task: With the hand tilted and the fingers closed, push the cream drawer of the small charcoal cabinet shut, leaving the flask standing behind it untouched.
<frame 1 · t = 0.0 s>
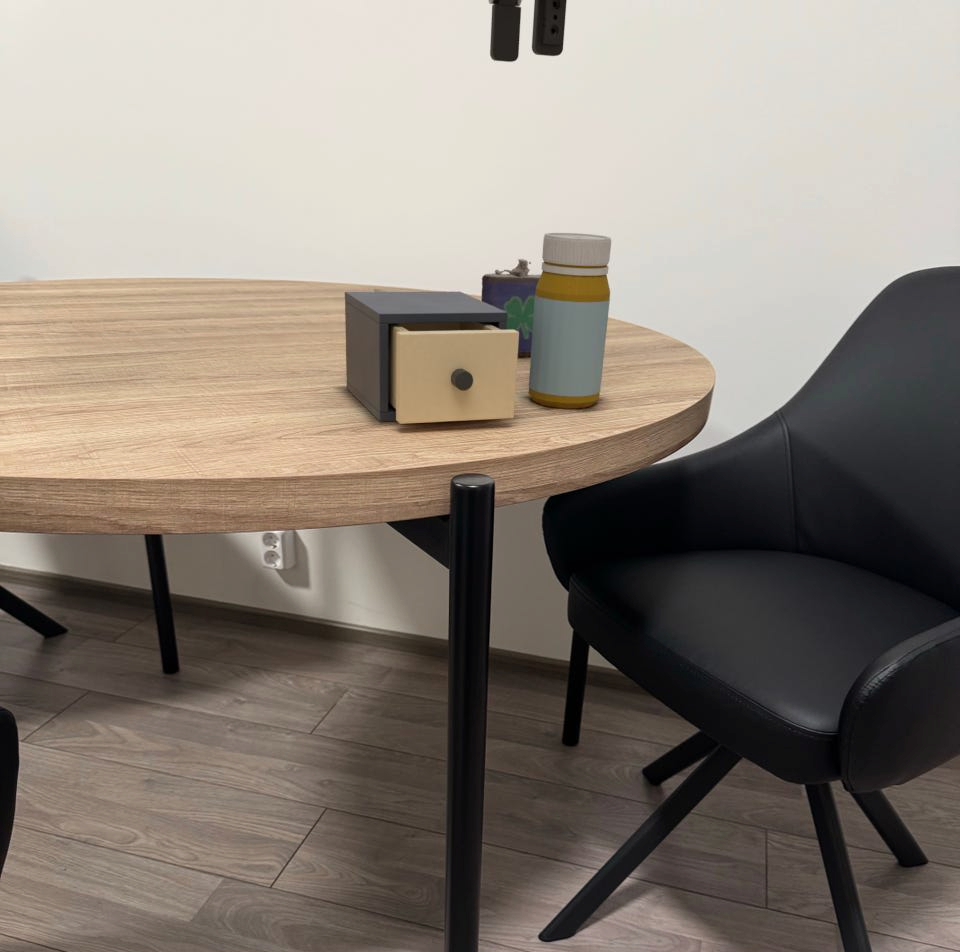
hand: (524, 58, 72), 28 cm above the table, tool pointing down, fingers open, 8 cm apart
drawer: (440, 365, 83), point 5 cm above the table, slide at 3.0 cm
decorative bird: (435, 370, 103), on the table
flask: (515, 356, 112), on the table
bottle: (563, 402, 93), on the table
cabinet: (421, 401, 90), on the table
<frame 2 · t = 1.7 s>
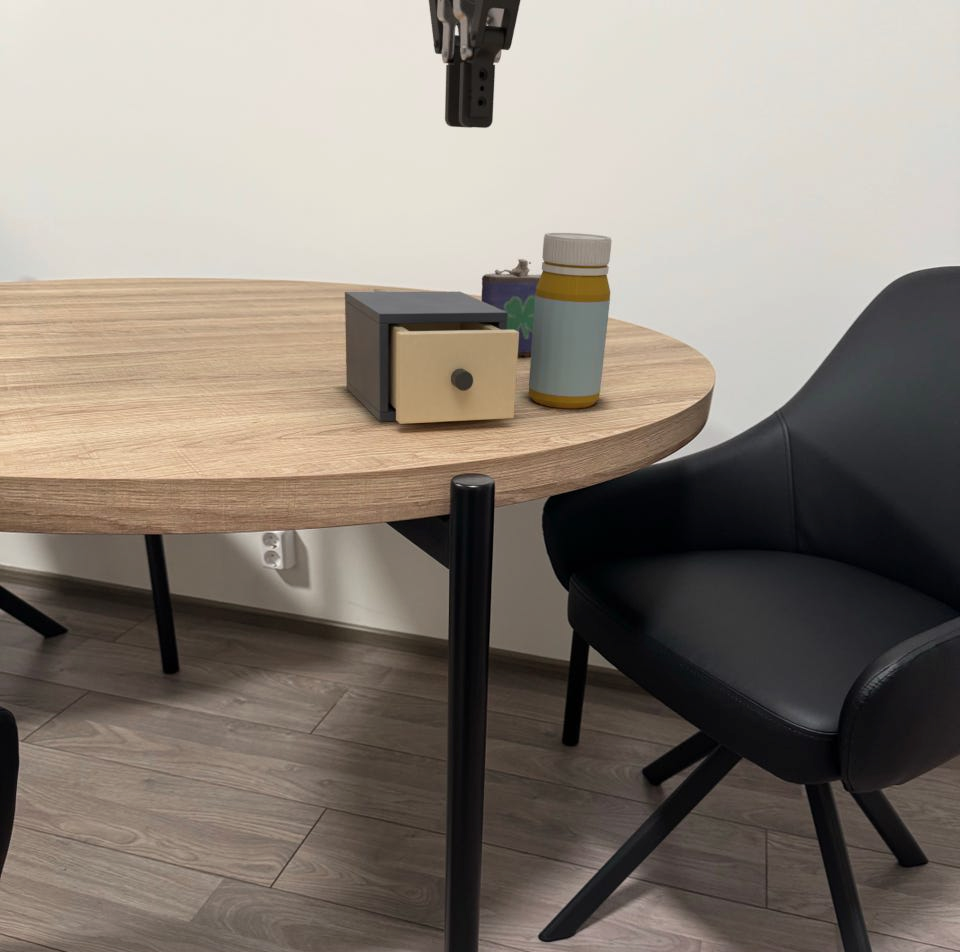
hand: (468, 125, 65), 23 cm above the table, tool pointing down, fingers closed
nothing on the table moved.
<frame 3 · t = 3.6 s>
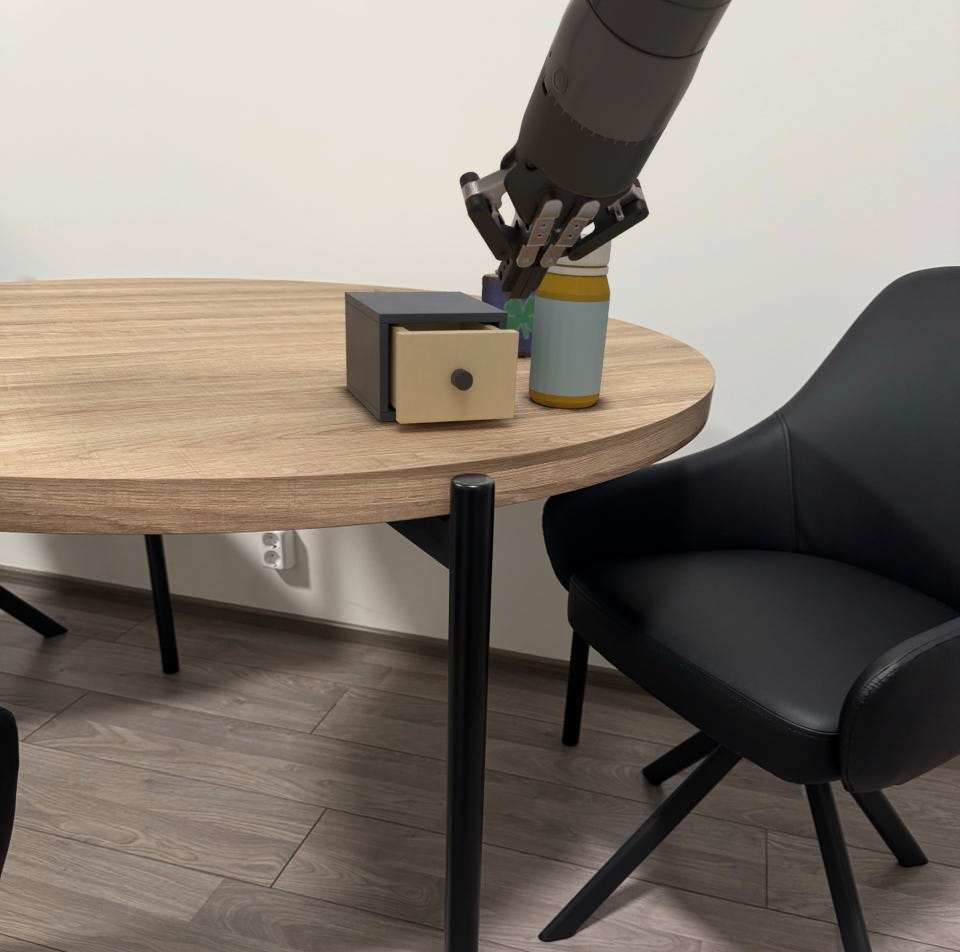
hand: (513, 288, 67), 13 cm above the table, tool tilted 45°, fingers closed
nothing on the table moved.
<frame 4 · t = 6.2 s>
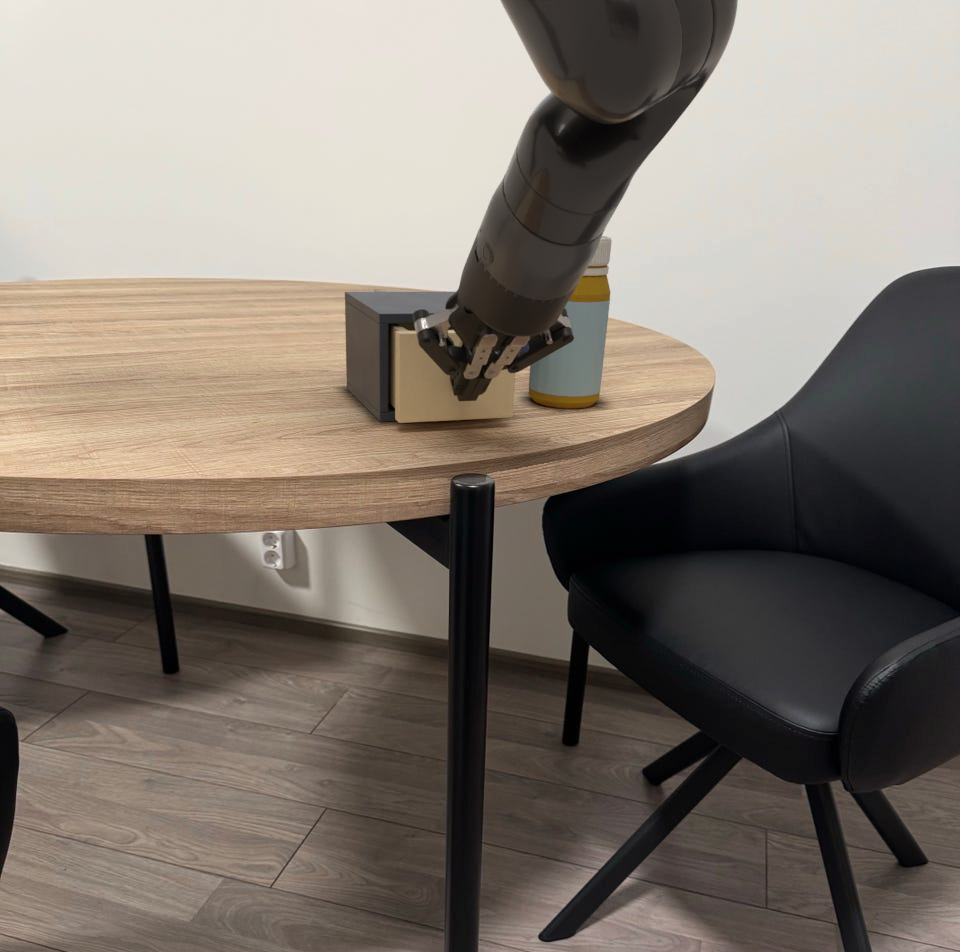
hand: (464, 391, 78), 4 cm above the table, tool tilted 45°, fingers closed
drawer: (439, 364, 83), point 5 cm above the table, slide at 2.7 cm, touching gripper
everything else where it was.
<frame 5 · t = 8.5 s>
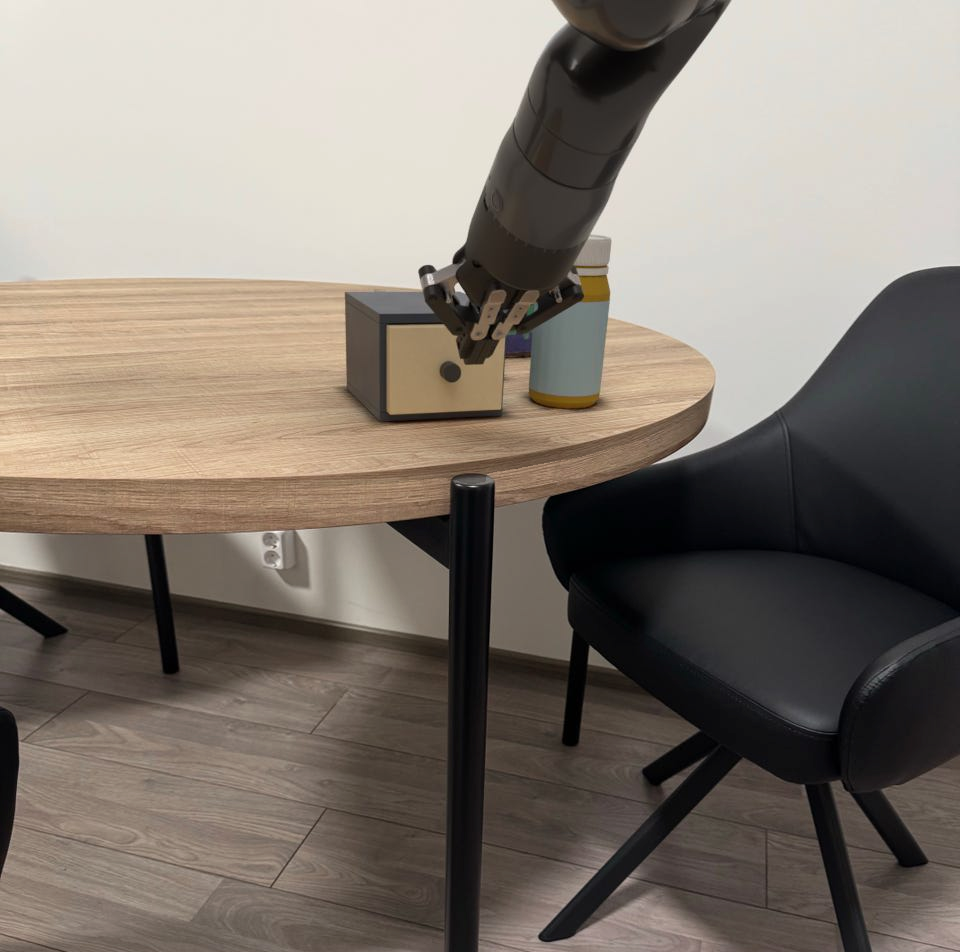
hand: (470, 355, 76), 7 cm above the table, tool tilted 45°, fingers closed
drawer: (430, 358, 86), point 5 cm above the table, slide at 0.0 cm, touching cabinet
everything else where it was.
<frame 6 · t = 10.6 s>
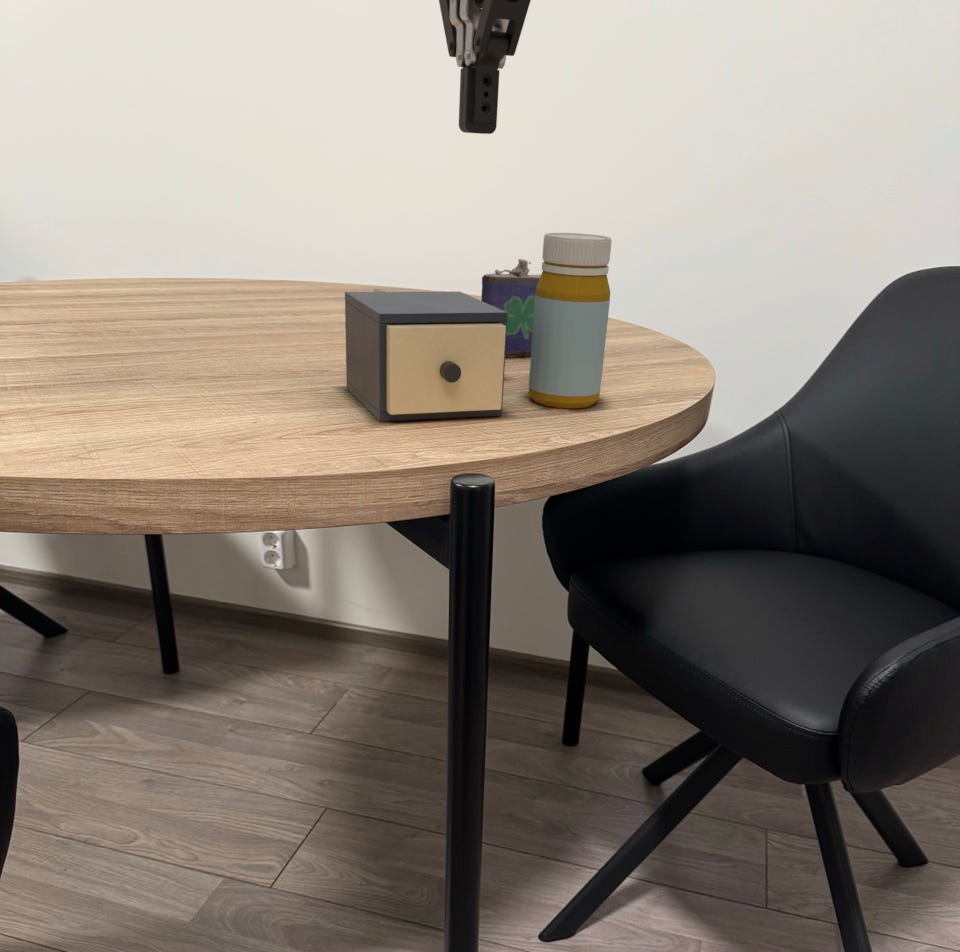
hand: (477, 132, 64), 23 cm above the table, tool pointing down, fingers closed
nothing on the table moved.
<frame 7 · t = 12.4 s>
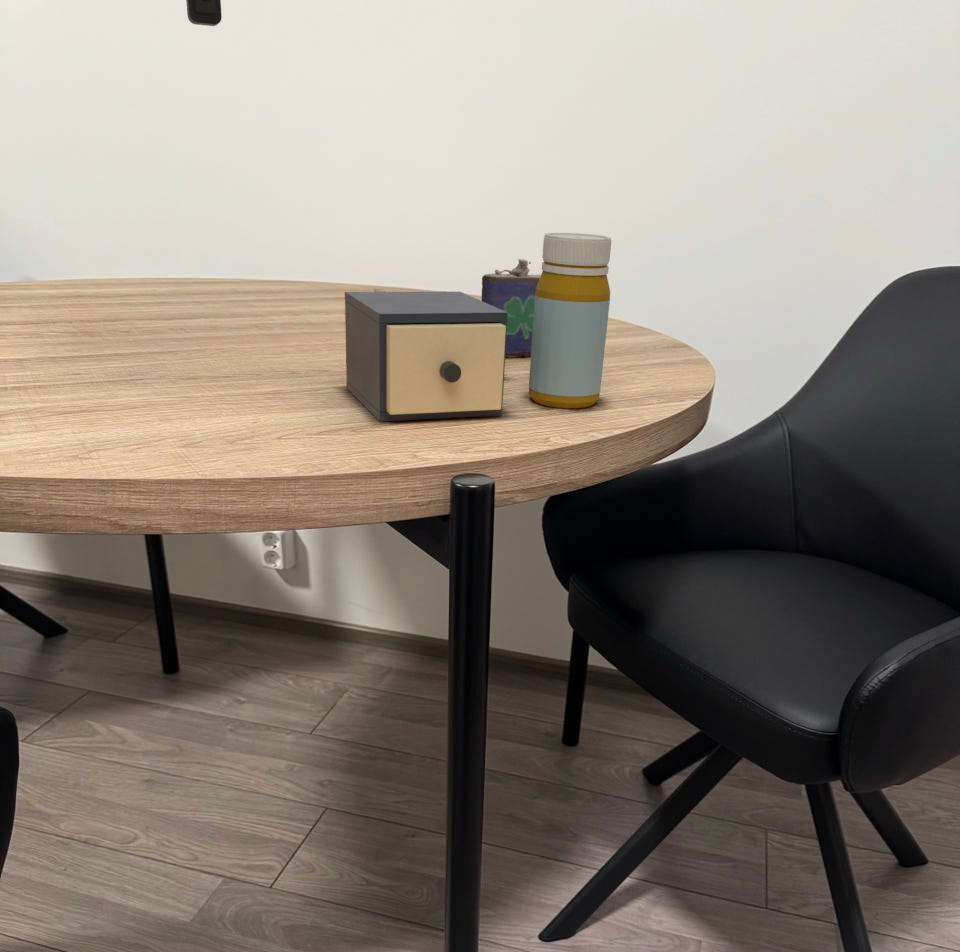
hand: (205, 23, 67), 29 cm above the table, tool pointing down, fingers closed
nothing on the table moved.
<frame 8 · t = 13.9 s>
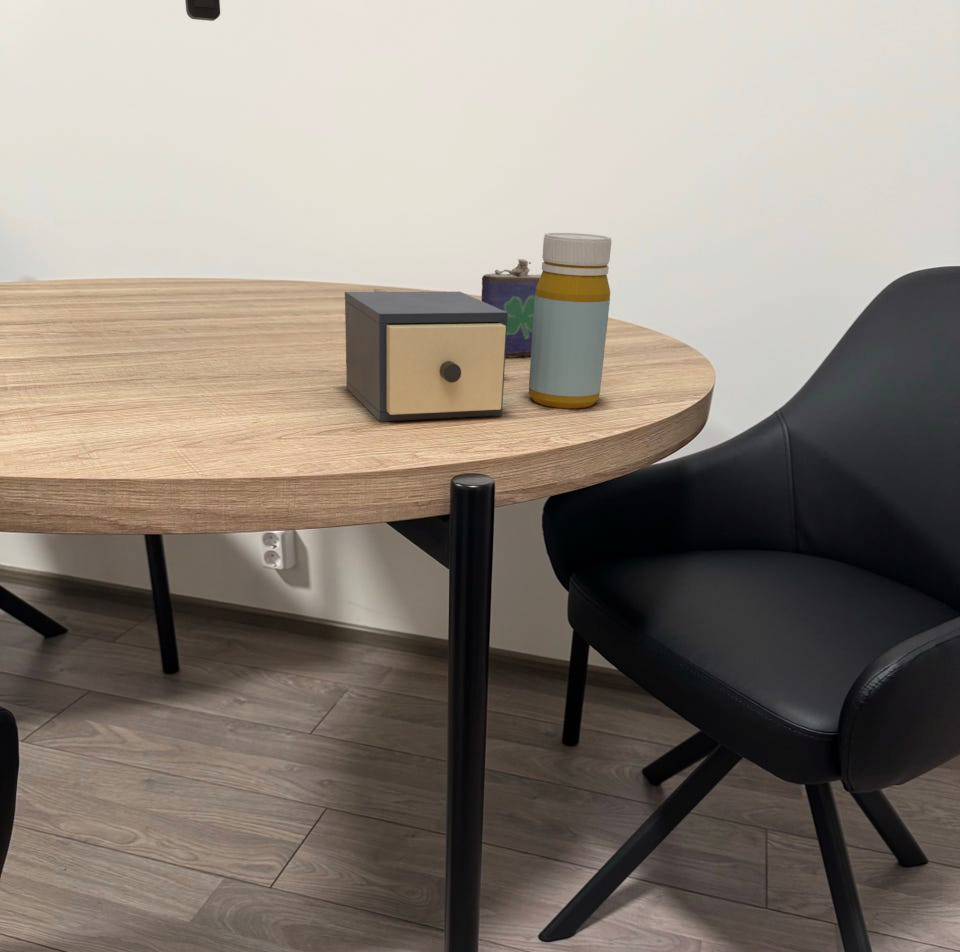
hand: (203, 18, 67), 29 cm above the table, tool pointing down, fingers closed
nothing on the table moved.
at the end: drawer slide at 0.0 cm; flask moved 0.2 cm from its start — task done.
